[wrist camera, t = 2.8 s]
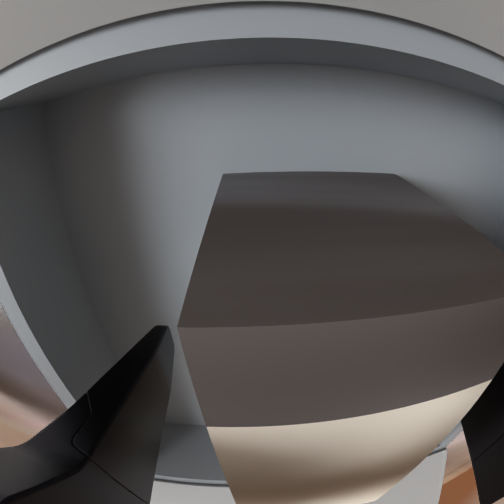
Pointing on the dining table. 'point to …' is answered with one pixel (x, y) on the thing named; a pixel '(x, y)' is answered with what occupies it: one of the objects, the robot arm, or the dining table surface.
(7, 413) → the dining table surface
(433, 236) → the block
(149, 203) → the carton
